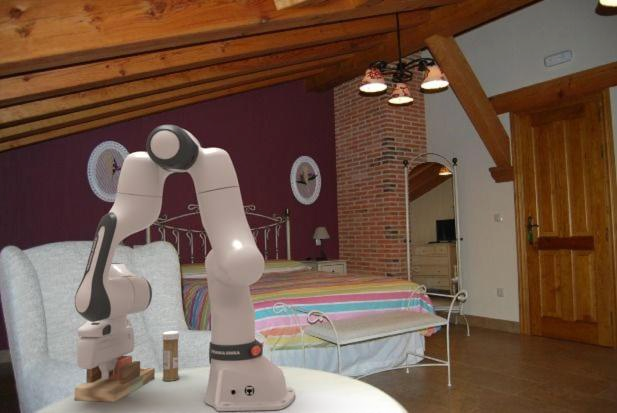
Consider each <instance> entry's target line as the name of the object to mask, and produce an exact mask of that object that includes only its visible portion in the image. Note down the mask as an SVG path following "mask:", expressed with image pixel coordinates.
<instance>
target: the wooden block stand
mask: <svg viewBox="0 0 617 413" xmlns="http://www.w3.org/2000/svg"><path fill="white" fill-rule="evenodd" d="M155 370H156V369H155V367H141V360H134V361H132V363H130V364H127V365H125V366H123V367H121V368H120V375H119V379H102V372H101V370H100V368H99V366H97V367H95V368H92V369H86V382H85V383H82V384H81V385H78V386H76V387H74V401H85V402H88V401H89V402H107V403H110V402H111V403H115V402H117V401H118V400H120V399H122V398H123V396H124V397H125V396H127V395H129V394H130V393H132V392H133V390H134V391H135V389H136V390H137V389H139V388H141V387H142V385H143V386H144V385H146V384H148V383H149V382H151V381H153V380H154V379H155V378H156V376H155ZM140 386H141V387H140ZM138 387H139V388H138ZM131 391H132V392H131ZM128 393H129V394H128Z"/></svg>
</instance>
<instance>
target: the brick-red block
mask: <svg viewBox="0 0 617 413" xmlns="http://www.w3.org/2000/svg"><path fill="white" fill-rule="evenodd" d="M132 362H133V355H123V356H121V357H118V358H117V364H116V367H115V369H114V376H112V377H110V378H108V379H119V375H120V368H121V367H123V366H125V365H127V364H130V363H132Z"/></svg>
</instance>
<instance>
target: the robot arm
mask: <svg viewBox="0 0 617 413" xmlns="http://www.w3.org/2000/svg"><path fill="white" fill-rule="evenodd" d="M145 145H146V147H145V148H146V151H136V152H135V151H134V152H132V153H130V154H129V153H128V155H126V157H125V158H124V161H123V164H122V166H121V170H120V174H119V178H118V182H117V188H116V189H117V190H116V196H115V200H114V203H113V205H112V207H111V208H110V210H109V212H108V213H105V214H104V215H103V216H102V217H101V219H100V220H99V222H98V226H97V228H96V232H95V235H94V238H93V241H92V244H91V248H90V251H89V257H88V259H87V262H86V263H87V264H86V267H85V270H84V274H83V276H82V279H81V281H80V284H79V285H78V288H77V290H76V293H75V296H74V307H75V310H76V312H77V313H78V314H79V315H80V316H81V317H82V318H84V319H85V321H86V320H87V321H86V322H85V323H84V324H83V325H81V326H80V327H79V328H78V329H77V337H79V340H78V342H77V353H76V360H77V361H76V362H77V367H78V368H79V369H80V370H87V369H92V368H95V367H97V366H99V368H100V370H101V372H102V379H108V378H110V377H112V376H114V369H115V367H116V364H117V358H118V357H121V356H127V354H130V353H132V352H134V349H135V344H136V343H135V331H134V328H133V326H132V322H131V321H130V319H128V315H132V314H139V313H141V312H144V311H146V310H147V309H148V307H149V306H150V305H151V303H152V298H153V289H152V286H151V283H150V282H149V281H148V280H147V279H146V278H145V277H143V276H139V275H136V274H135V273H132V272H131V271H129V270H128V268H127V265H126V264H124V263H121V262H113V259H114V255H115V252H116V249H117V247H118V245H119V244H120V243H121V242H122V241H124V239H126V238H127V237H129V236H130V235H133V234H135V233H138V232H140V231H143V230H145V229H147V228H149V227H150V226H152V225H153V224H154V223H155V222H156V221H157V220H158V218H159V216H160V214H161V211H162V205H163V192H164V187H165V186H164V185H165V181H166V179H167V177H168V176H177V175H182V174H183V175H184V174H187V173H188V174H189V175H190V177H191V178H192V181H193V184H194V188H195V194H196V198H197V205H198V208H199V214H200V219H201V223H202V227H203V228H204V230H205V233H206V235H207V237H208V240H209V243H210V245H211V250H210V251H209V252H208V253H207V255H206V257H205V261H204V267H205V271H206V281H207V289H208V290H207V291H208V297H209V303H210V304H209V305H210V325H211V326H210V341H209V344H208V345H209V348H208V358H209V359H208V362H209V374H208V376H209V377H208V383H207V388H206V392H205V396H204V399H203V400H204V403H205V404H206V405H208V406H211V407H213V408H214V409H215V411H217V412H241V411H242V412H243V411H244V412H245V411H246V412H247V411H276V410H277V411H278V410H282V409H285V408H287V407H288V406H290V405H291V404H292V403H293V401H294V399H295V398H296V394H295V390H294V389H293V388H291V387H288V386H287V383H286V377H285V374H284V372H283V370H282V368H280V367H279V366H277V365H276V364H275V363H274V362H272V361H271V360H270V359H268V358H267V357H266V356H265V355H263V354H264V352H263V351H264V350H263V349H264V341H262V342H260V341H259V340H257V339H256V309H255V308H256V307H255V305H254V303H253V300H252V294H251V291H250V286H251V285H253V284H255V283H257V282H258V281H260V279H261V278H262V276H263V273H264V271H265V268H266V267H265V266H266V264H265V258H264V256H263V254H262V253H261V251H260V249H259V248H258V246H257V243H256V241H255V238H254V235H253V232H252V230H251V227H250V225H249V223H248V220H247V216H246V213H245V208H244V204H243V199H242V193H241V190H240V184H239V181H238V180H239V179H238V175H237V172H236V170H235V167H234V164H233V161H232V159H231V157H230V154H229V153H228V152H227V151H226V150H224V149H222V148H219V147H207V148H204V147H203V145H202V143H201V142H200V140H199V139H198V138H196V136H194V135H193V134H192V133H191V132H189V131H188V130H186V129H184V128H182V127H180V126H178V125H175V124H163V125H159V126H156V127H155V128H154V129H153V130H151V132H150V133H149V135H148V136H147V139H146V144H145Z"/></svg>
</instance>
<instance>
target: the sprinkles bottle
mask: <svg viewBox="0 0 617 413" xmlns="http://www.w3.org/2000/svg"><path fill="white" fill-rule="evenodd" d="M179 336H180V334H179V331H177V330H169V331H163V333H162V380H163V381H165V382H173V381H176V380H178V379H179V339H180V337H179Z"/></svg>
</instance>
